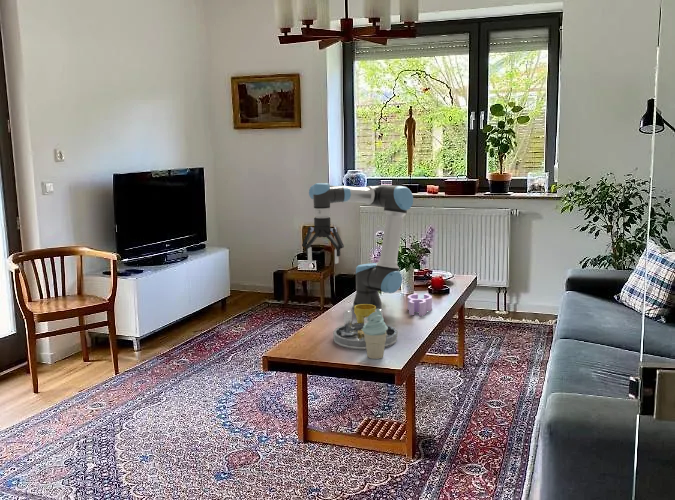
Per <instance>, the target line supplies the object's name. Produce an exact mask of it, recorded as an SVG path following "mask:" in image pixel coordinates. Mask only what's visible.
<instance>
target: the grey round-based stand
mask: <svg viewBox="0 0 675 500" xmlns="http://www.w3.org/2000/svg"><path fill="white" fill-rule="evenodd" d="M352 323H353V311H352V310H351V309H346V310H344V311H343V325H344V330H342V331H341V335H342V334H346V337H354V336H356V331H355V330H352Z"/></svg>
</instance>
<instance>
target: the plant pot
mask: <svg viewBox="0 0 675 500" xmlns="http://www.w3.org/2000/svg"><path fill="white" fill-rule="evenodd" d="M375 309H376V306H375V305H371V304H359V305H356V306H354V308H353V312H354V315H355V318H356V323H364V318H365V317H368V316H369V315H370V314H372V313H373V312H375Z"/></svg>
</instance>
